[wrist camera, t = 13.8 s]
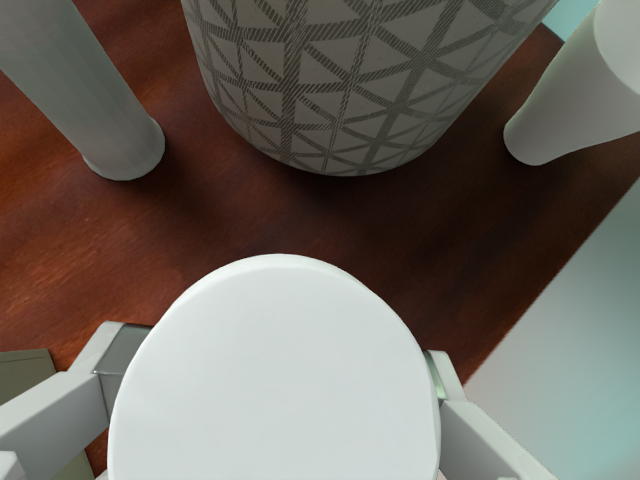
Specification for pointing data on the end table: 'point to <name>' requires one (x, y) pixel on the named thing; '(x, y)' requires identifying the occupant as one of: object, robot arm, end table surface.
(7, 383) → the bin
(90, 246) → the end table surface
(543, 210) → the end table surface
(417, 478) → the pill bottle
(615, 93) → the cup
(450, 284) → the end table surface
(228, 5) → the planter
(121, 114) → the grey tall flared cylinder
